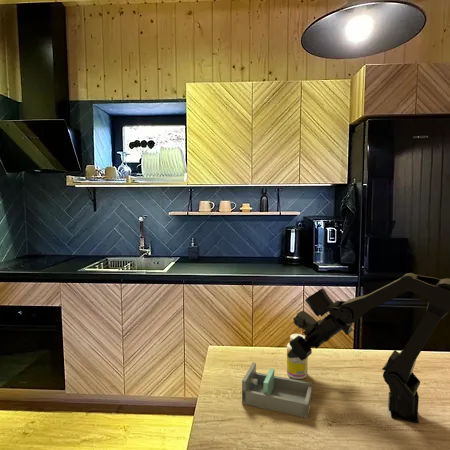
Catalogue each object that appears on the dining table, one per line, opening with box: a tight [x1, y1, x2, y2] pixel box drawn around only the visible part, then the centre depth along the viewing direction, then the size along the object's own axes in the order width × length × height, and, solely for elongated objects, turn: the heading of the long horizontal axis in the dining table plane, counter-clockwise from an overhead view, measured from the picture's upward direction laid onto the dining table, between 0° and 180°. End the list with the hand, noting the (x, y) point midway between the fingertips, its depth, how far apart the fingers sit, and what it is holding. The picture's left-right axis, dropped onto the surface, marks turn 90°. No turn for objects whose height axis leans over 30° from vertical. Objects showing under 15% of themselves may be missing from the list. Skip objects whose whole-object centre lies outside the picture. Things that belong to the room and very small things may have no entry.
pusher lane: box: [241, 362, 313, 419], centre depth 101 cm, size 18×11×7 cm, turn 70°
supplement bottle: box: [286, 333, 309, 380], centre depth 114 cm, size 7×7×13 cm
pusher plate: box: [263, 367, 275, 395], centre depth 101 cm, size 1×8×6 cm, turn 159°
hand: (293, 352), depth 114 cm, fingers closed on supplement bottle, 7 cm apart
